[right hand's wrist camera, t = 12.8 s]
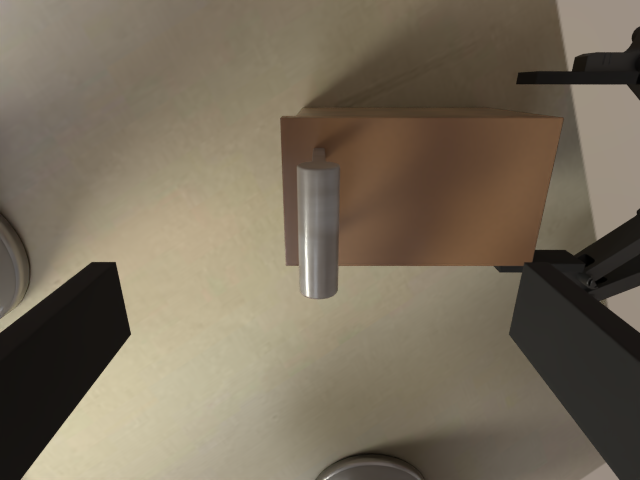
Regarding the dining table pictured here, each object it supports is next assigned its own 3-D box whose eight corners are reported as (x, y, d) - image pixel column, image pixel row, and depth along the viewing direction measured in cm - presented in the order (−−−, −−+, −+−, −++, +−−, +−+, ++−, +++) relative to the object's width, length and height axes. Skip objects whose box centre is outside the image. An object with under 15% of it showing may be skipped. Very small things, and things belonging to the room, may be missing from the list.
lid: (287, 258, 27) (273, 327, 20) (282, 116, 24) (263, 130, 16) (522, 258, 27) (603, 327, 20) (553, 116, 24) (665, 131, 16)
